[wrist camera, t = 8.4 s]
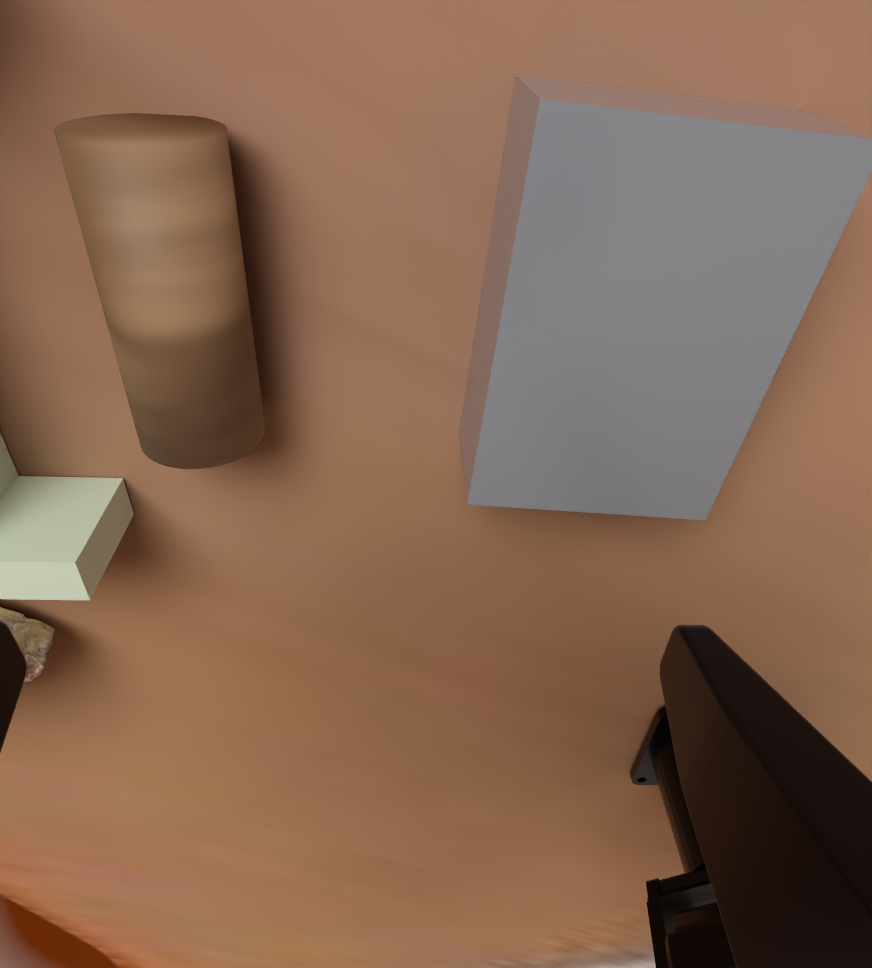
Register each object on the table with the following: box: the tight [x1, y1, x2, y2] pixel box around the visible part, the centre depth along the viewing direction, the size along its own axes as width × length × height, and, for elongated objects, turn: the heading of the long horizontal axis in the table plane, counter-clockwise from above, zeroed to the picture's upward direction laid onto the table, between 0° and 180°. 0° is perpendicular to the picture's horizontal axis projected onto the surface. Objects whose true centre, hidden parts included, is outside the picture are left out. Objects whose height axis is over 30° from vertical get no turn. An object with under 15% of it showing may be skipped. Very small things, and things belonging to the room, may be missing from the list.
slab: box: [460, 74, 872, 520], centre depth 17 cm, size 10×7×4 cm
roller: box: [54, 113, 265, 469], centre depth 17 cm, size 8×4×4 cm
